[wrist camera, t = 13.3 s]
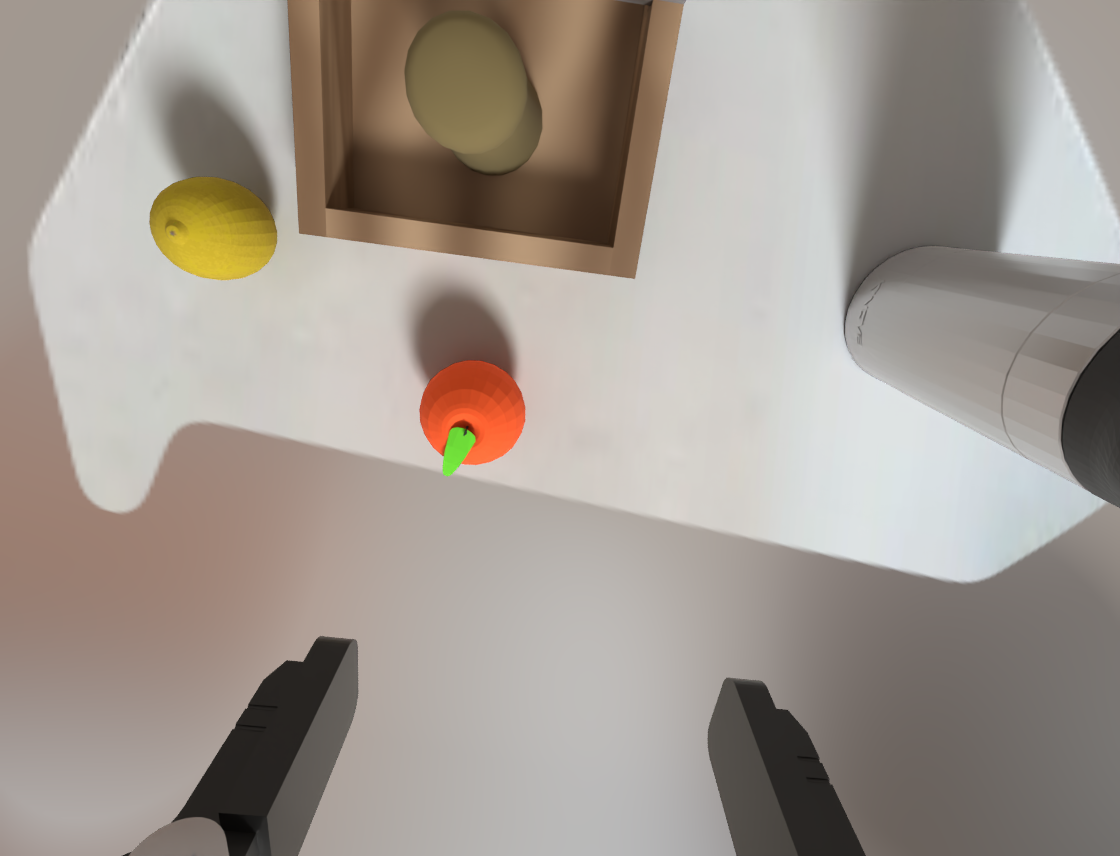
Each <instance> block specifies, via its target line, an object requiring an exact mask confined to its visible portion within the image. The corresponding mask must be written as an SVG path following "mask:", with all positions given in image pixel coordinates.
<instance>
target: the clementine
mask: <svg viewBox="0 0 1120 856" xmlns="http://www.w3.org/2000/svg"><path fill="white" fill-rule="evenodd" d="M419 410H420V423H421V425H422V428H423V431H424V434H425V436H426V438H427V439H428V441H429V442H430V443H431V445H432V446H433V448H434V449H436V450H437V451H438V452H439V453H440V454H441V455H442V456H444V460H443V474H444V475H446V476H450V475H451V474H452V473H453V472H454V471H455V470H456V469H457V468H458V466H459V465H460V464H469V465H478V464H482V463H487V462H491V461H493V460H495V459H497V458H499V457H501V456H503V455H504V454H505V453H507V452H508V451H509V450H510V449H511V448H512V447H513V446H514V444H515V443H516V441H517V439H518V438H519V436H520V434H521V433H522V429H523V426H524V423H525V405H524V401H523V397H522V393H521V391H520V389H519V387H518V386H517V384H516V382H515V381H514V380H513V379H512V378H511V377H510V376H509V375H508V374H507V373H506V372H505V371H504V370H502V369H501V368H499V367H497V366H495V365H494V364H490V363H487V362H484V361H475V360H466V361H462V362H457V363H454V364H452V365H450V366H448V367H446V368H445V369H443V370H441V371H440V372H438V373H437V374H436V375H435V376H434V377H433V378H432V379H431V380H430V382H429V383H428V385H427V387H426V389H425V391H424V393H423V396H422V400H421V405H420V409H419Z"/></svg>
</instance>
